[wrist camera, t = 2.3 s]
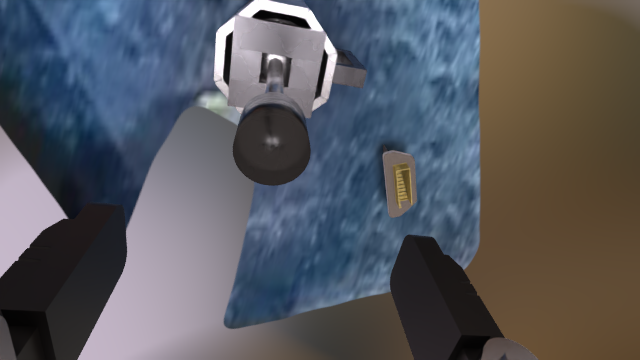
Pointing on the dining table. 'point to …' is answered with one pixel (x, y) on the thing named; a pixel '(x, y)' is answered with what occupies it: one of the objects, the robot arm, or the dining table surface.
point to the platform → (399, 181)
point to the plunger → (272, 128)
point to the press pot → (284, 40)
